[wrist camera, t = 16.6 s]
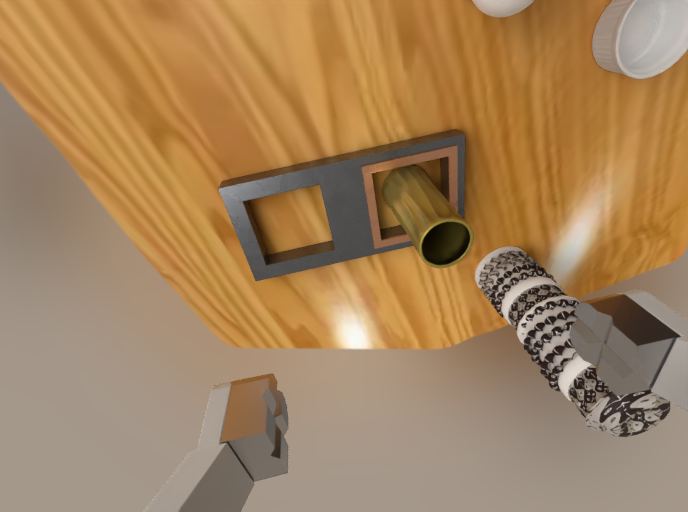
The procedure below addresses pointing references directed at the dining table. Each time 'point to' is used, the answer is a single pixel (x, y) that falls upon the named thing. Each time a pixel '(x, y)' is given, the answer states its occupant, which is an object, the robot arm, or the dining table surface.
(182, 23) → the dining table surface
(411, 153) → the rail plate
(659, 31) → the ramekin
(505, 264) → the decorative candle
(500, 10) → the lightbulb
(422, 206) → the vase
